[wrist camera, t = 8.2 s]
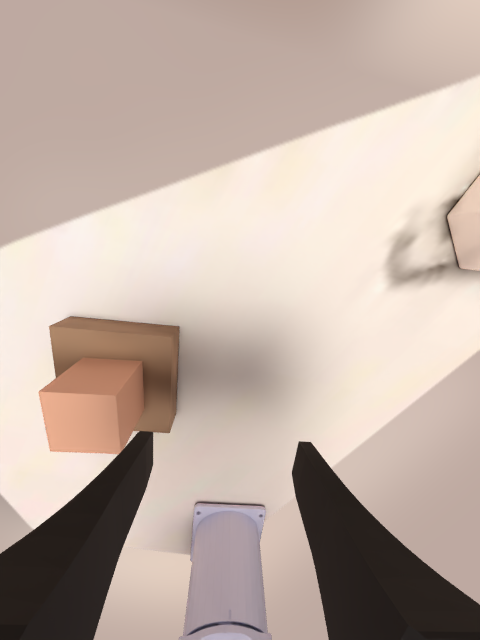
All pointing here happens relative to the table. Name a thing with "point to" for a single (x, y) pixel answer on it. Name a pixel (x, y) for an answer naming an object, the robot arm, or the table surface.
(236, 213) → the table surface
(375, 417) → the table surface
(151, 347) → the base block
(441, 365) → the table surface
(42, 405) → the cube
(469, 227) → the jar
